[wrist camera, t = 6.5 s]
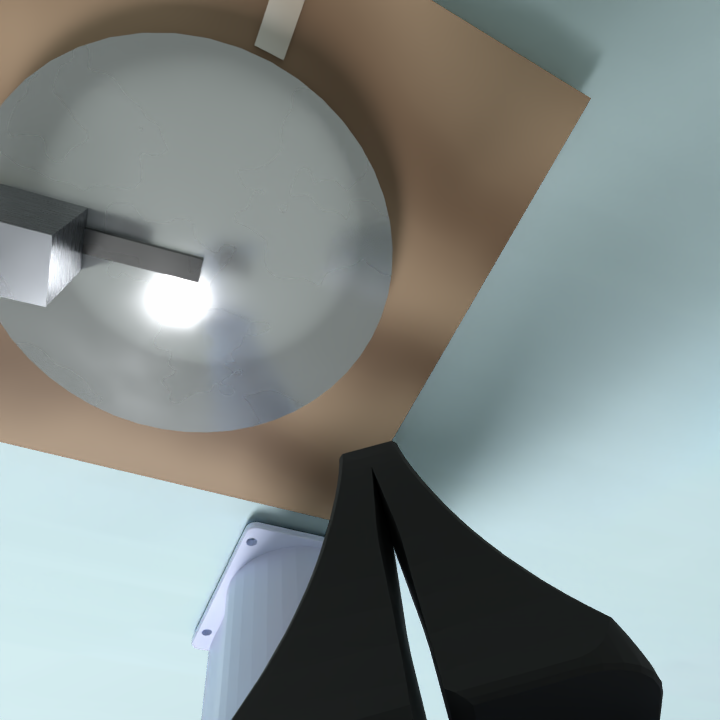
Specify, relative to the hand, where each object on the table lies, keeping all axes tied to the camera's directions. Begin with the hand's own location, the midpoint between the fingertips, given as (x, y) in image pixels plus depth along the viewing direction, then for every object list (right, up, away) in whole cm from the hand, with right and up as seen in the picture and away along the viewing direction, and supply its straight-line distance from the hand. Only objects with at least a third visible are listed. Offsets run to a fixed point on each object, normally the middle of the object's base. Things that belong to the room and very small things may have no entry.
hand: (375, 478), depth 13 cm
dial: (-6, +6, +5) cm, 10 cm away
